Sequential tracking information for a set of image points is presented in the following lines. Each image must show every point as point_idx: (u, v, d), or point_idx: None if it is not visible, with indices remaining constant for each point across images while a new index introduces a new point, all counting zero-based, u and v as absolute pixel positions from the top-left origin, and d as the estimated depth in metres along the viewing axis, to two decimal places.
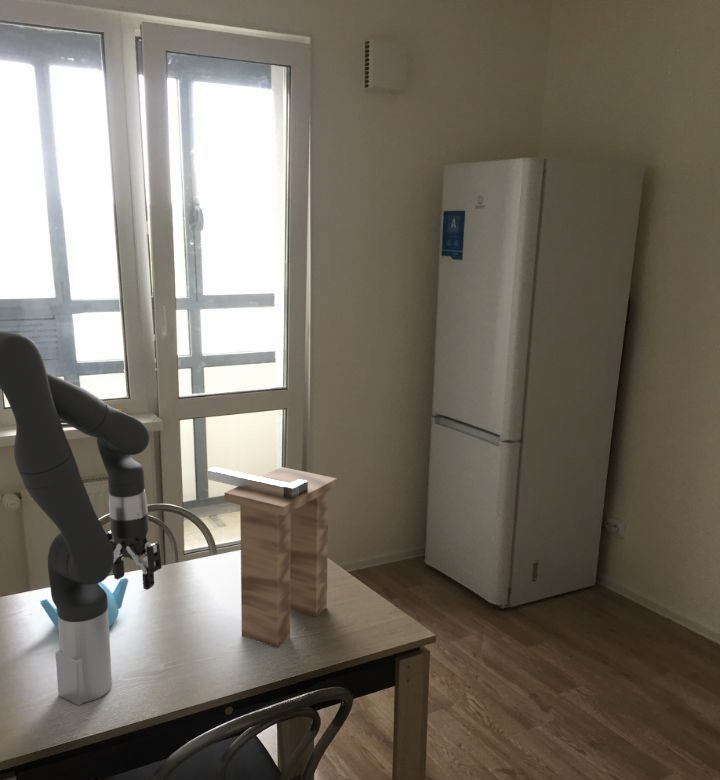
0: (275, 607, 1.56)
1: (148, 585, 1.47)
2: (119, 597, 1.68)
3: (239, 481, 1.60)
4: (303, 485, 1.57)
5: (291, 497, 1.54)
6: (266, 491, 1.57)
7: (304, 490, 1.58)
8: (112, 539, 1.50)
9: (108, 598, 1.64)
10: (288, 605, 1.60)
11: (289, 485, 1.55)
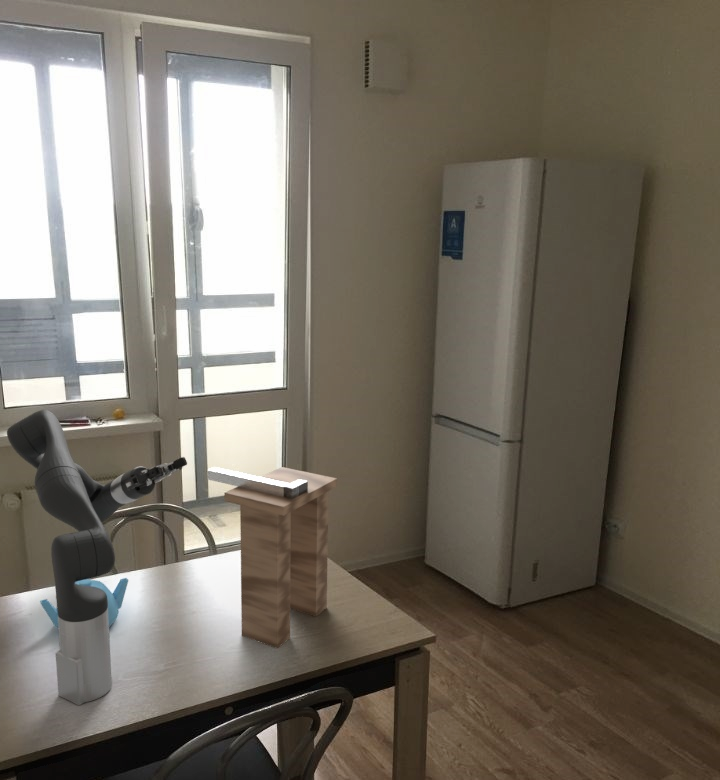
0: (275, 607, 1.56)
1: None
2: (119, 597, 1.68)
3: (239, 481, 1.60)
4: (303, 485, 1.57)
5: (291, 497, 1.54)
6: (266, 491, 1.57)
7: (304, 490, 1.58)
8: None
9: (108, 598, 1.64)
10: (288, 605, 1.60)
11: (289, 485, 1.55)
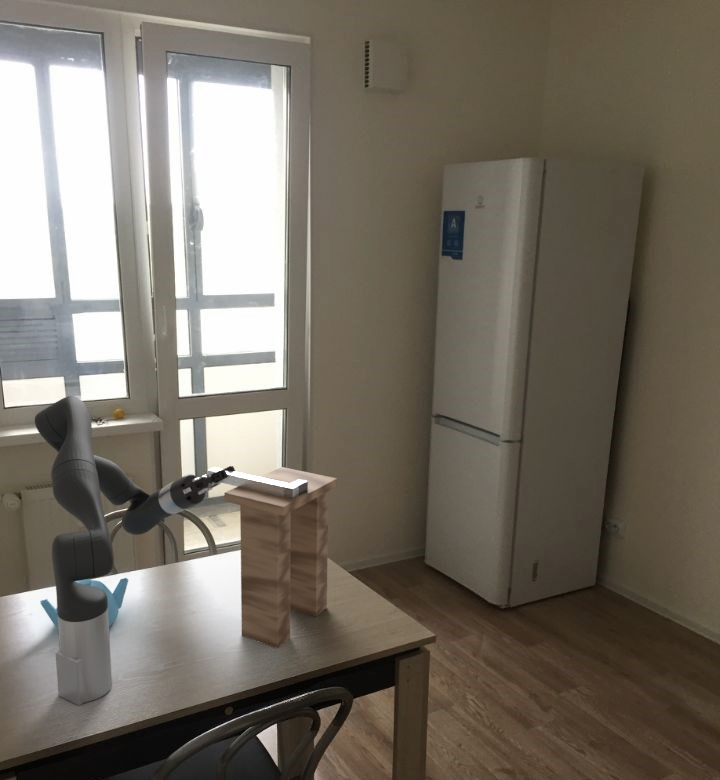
0: (275, 607, 1.56)
1: None
2: (119, 597, 1.68)
3: (239, 481, 1.60)
4: (303, 485, 1.57)
5: (291, 497, 1.54)
6: (266, 491, 1.57)
7: (304, 490, 1.58)
8: None
9: (108, 598, 1.64)
10: (288, 605, 1.60)
11: (289, 485, 1.55)
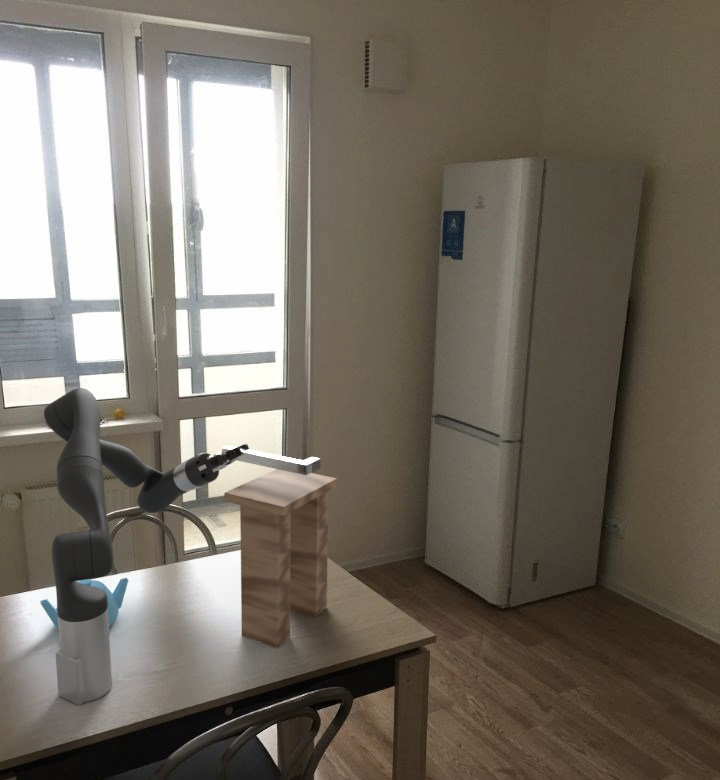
0: (275, 607, 1.56)
1: None
2: (119, 597, 1.68)
3: (254, 458, 1.64)
4: (316, 462, 1.61)
5: (305, 473, 1.58)
6: (280, 468, 1.61)
7: (317, 467, 1.62)
8: None
9: (108, 598, 1.64)
10: (288, 605, 1.60)
11: (303, 462, 1.60)
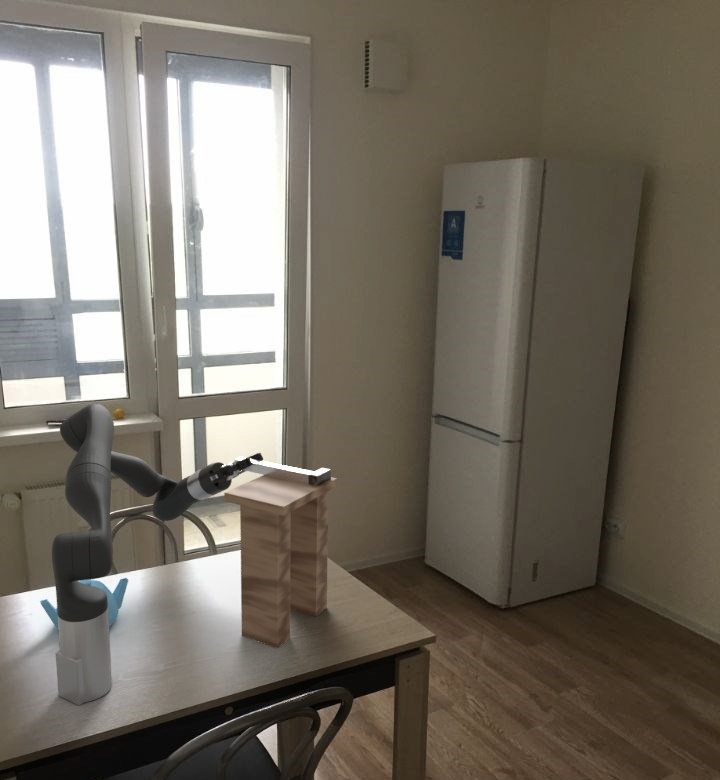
0: (275, 607, 1.56)
1: None
2: (119, 597, 1.68)
3: (266, 469, 1.69)
4: (327, 473, 1.66)
5: (316, 484, 1.62)
6: (291, 479, 1.66)
7: (327, 478, 1.66)
8: None
9: (108, 598, 1.64)
10: (288, 605, 1.60)
11: (314, 473, 1.64)
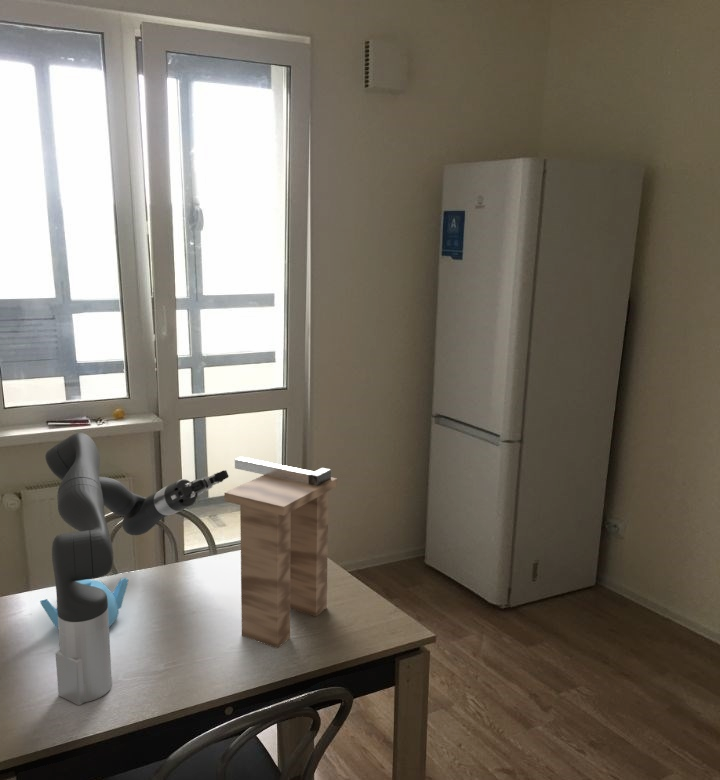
0: (275, 607, 1.56)
1: None
2: (119, 597, 1.68)
3: (266, 469, 1.69)
4: (327, 473, 1.66)
5: (316, 484, 1.62)
6: (291, 479, 1.66)
7: (327, 478, 1.66)
8: None
9: (108, 598, 1.64)
10: (288, 605, 1.60)
11: (314, 473, 1.64)
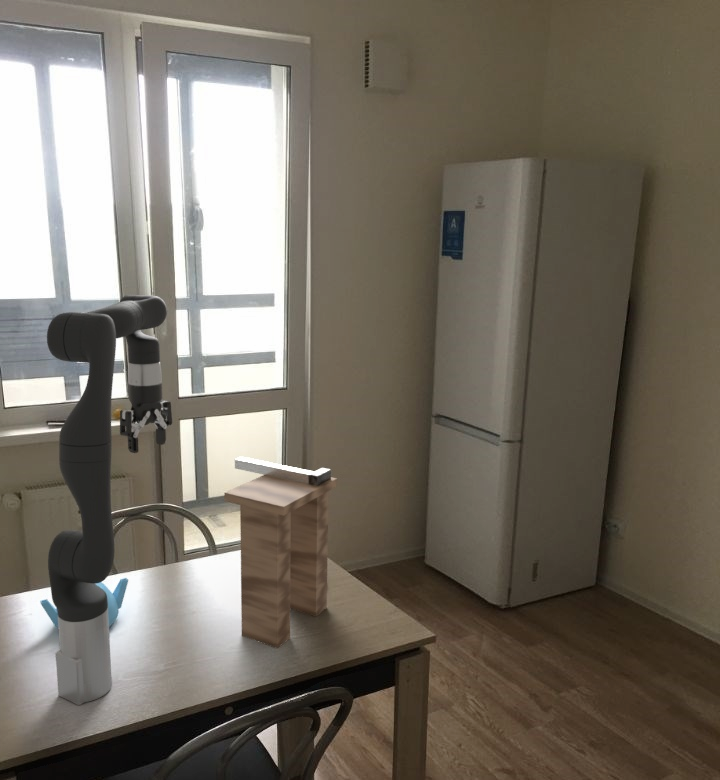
0: (275, 607, 1.56)
1: (164, 439, 1.71)
2: (119, 597, 1.68)
3: (266, 469, 1.69)
4: (327, 473, 1.66)
5: (316, 484, 1.62)
6: (291, 479, 1.66)
7: (327, 478, 1.66)
8: None
9: (108, 598, 1.64)
10: (288, 605, 1.60)
11: (314, 473, 1.64)
